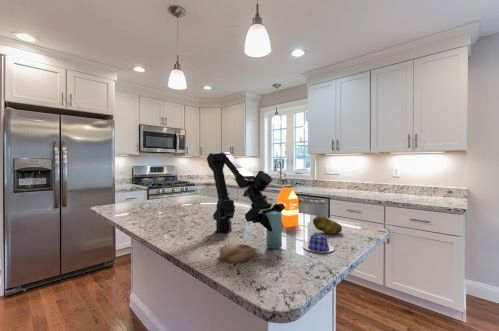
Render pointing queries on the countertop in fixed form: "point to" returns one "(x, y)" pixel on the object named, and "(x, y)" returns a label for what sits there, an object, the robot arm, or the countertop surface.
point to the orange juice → (289, 207)
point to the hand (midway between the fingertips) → (276, 229)
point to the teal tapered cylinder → (274, 230)
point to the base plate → (236, 253)
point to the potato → (326, 225)
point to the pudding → (318, 244)
